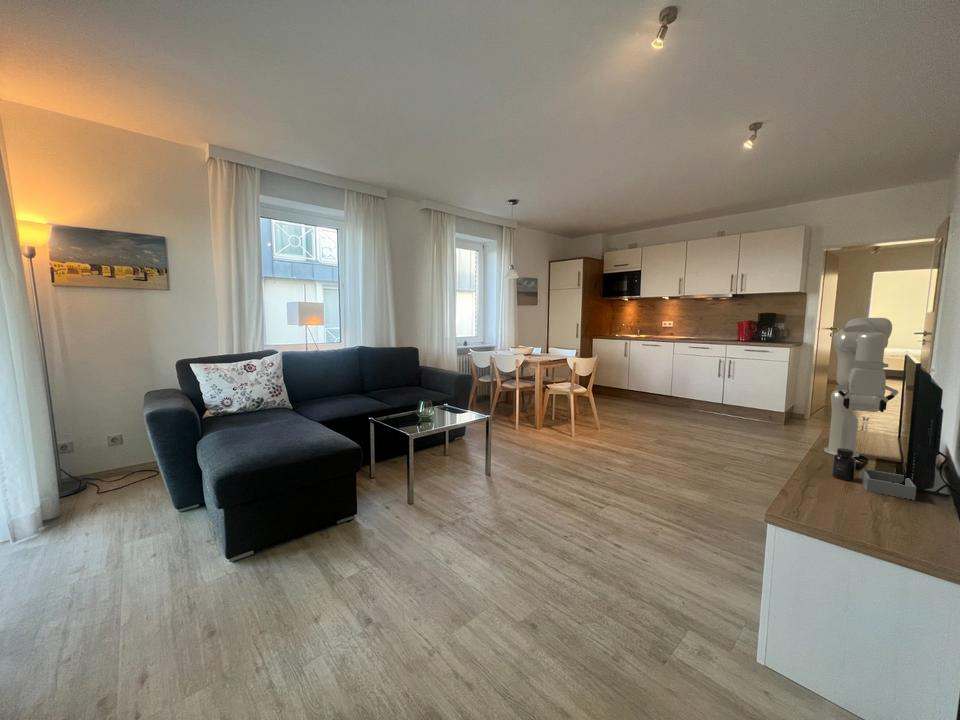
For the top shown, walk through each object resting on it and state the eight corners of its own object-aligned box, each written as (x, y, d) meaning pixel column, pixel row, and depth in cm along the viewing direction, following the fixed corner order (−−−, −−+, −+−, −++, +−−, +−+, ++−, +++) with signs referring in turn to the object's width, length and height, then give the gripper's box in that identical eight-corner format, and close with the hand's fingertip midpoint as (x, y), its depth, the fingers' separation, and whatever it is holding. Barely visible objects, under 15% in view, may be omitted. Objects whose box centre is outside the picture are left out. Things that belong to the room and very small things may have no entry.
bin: (861, 480, 159) (862, 468, 158) (905, 488, 151) (907, 475, 151) (866, 491, 149) (867, 478, 148) (914, 500, 141) (916, 487, 141)
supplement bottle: (858, 481, 158) (861, 452, 156) (841, 481, 158) (844, 452, 156) (843, 474, 165) (846, 447, 163) (827, 474, 165) (829, 447, 163)
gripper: (898, 366, 146) (892, 410, 148) (836, 363, 156) (832, 405, 158) (904, 368, 140) (898, 415, 142) (839, 365, 150) (835, 408, 151)
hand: (863, 409), depth 150 cm, fingers open, 9 cm apart
